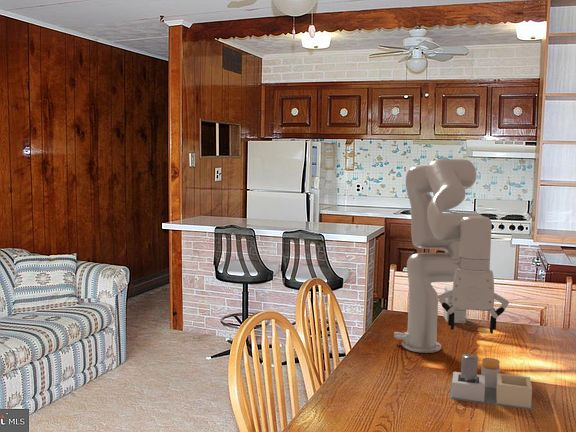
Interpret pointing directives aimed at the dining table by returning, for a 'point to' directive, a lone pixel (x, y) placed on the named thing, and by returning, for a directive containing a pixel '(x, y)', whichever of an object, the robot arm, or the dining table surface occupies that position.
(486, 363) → the button
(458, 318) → the supplement box
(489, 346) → the dining table surface
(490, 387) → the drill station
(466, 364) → the grey rounded cylinder
